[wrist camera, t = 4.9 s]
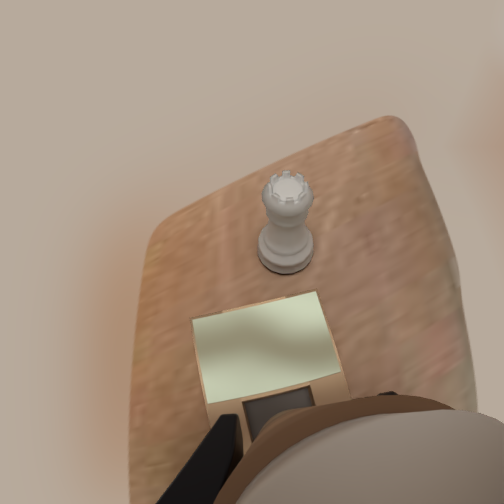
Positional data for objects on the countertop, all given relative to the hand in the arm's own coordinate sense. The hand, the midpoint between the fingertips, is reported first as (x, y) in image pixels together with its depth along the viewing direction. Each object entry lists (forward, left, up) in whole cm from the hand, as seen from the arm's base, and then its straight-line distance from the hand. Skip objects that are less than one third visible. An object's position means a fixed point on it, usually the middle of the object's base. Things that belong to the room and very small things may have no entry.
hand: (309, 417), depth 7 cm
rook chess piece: (+13, -3, -15) cm, 20 cm away
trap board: (0, 0, -14) cm, 14 cm away
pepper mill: (-1, 0, -7) cm, 7 cm away
